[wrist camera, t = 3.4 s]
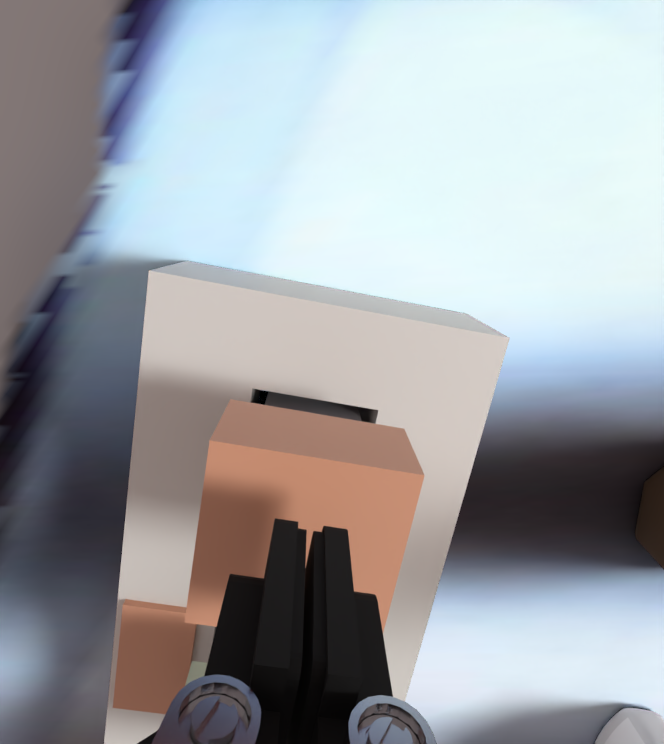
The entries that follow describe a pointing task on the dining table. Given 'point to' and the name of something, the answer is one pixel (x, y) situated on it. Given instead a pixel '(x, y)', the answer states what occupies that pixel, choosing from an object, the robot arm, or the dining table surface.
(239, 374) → the console
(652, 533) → the beer bottle
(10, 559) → the dining table surface
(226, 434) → the terracotta button
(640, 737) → the eye dropper bottle
